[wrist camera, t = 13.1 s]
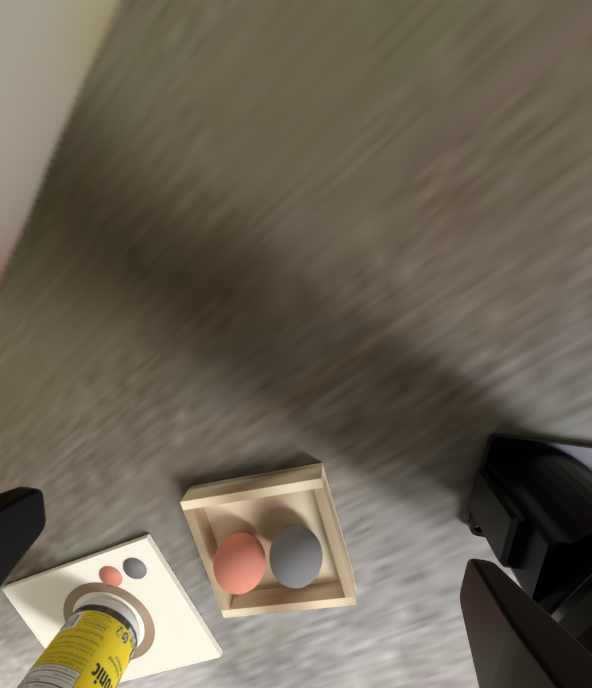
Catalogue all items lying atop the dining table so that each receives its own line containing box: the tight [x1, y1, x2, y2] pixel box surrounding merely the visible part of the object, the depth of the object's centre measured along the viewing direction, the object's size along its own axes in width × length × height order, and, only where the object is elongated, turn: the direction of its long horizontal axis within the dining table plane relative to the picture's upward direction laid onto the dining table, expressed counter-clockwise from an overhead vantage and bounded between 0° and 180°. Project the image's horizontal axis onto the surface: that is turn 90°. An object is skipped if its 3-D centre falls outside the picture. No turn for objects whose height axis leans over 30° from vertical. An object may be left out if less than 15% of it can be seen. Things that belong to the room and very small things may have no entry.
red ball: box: [213, 533, 266, 594], centre depth 21 cm, size 3×3×3 cm
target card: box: [2, 534, 222, 682], centre depth 26 cm, size 14×11×1 cm
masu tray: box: [180, 463, 357, 618], centre depth 22 cm, size 9×9×2 cm
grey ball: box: [269, 525, 323, 588], centre depth 20 cm, size 3×3×3 cm
